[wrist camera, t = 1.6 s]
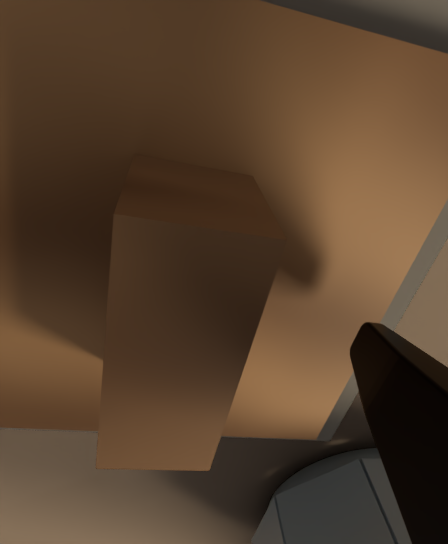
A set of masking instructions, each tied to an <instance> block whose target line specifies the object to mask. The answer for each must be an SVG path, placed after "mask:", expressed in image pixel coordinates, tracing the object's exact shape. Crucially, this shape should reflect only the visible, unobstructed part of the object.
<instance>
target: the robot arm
mask: <svg viewBox="0 0 448 544" xmlns="http://www.w3.org/2000/svg"><path fill="white" fill-rule="evenodd" d="M350 359H351V363H352V367H353V371H354V375H355V379H356V383H357V387H358V390H359V394H360V398H361V402H362V406H363V409H364V413H365V416H366V419H367V422H368V425H369V428H370V430H371V433H372V436H373V439H374V441H375V444H376V447H377V449H378V452H379V455H380V458H381V460H382V463H383V466H384V469H385V471H386V474H387V477H388V480H389V482H390V485H391V488H392V491H393V493H394V496H395V499H396V502H397V504H398V507H399V510H400V513H401V515H402V518H403V521H404V524H405V526H406V529H407V532H408V535H409V537H410V540H411V543H412V544H448V367H446V366H445V365H443V364H442V363H440V362H439V361H437V360H436V359H434V358H433V357H431V356H430V355H428V354H427V353H425V352H424V351H422V350H421V349H419V348H418V347H416V346H415V345H413V344H412V343H410V342H409V341H407V340H406V339H404V338H403V337H401V336H400V335H398V334H397V333H395V332H394V331H392V330H391V329H389V328H388V327H386V326H385V325H383V324H381V323H374V322H365V323H364V324H362V326H361V327H360V329H359V331H358V333H357V335H356V337H355V339H354V341H353V343H352V345H351V347H350Z"/></svg>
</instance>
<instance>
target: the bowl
mask: <svg viewBox="0 0 448 544" xmlns="http://www.w3.org/2000/svg"><path fill="white" fill-rule="evenodd" d="M251 542H252V544H412V543H411V540H410V537H409V535H408V532H407V529H406V526H405V524H404V521H403V518H402V515H401V513H400V510H399V507H398V504H397V502H396V499H395V496H394V493H393V491H392V488H391V485H390V482H389V480H388V477H387V474H386V471H385V469H384V466H383V463H382V460H381V458H380V455H379V452H378V449H377V448H369V449H360V450H354V451H349V452H345V453H341V454H337V455H334V456H331V457H328V458H325V459H323V460H320V461H318V462H315V463H313V464H311V465H309V466H307V467H305V468H303V469H302V470H300V471H298V472H297V473H295V474H294V475H292V476H291V477H290V478H288V479H287V480H286V481H285V482H284V483H283V484H282V485H280V487H279V488H278V489H277V490H276V491H275V493H274V494H273V496H272V498H271V500H270V503H269V507H268V509H267V511H266V513H265V515H264V516H263V518H262V520H261V522H260V524H259V526H258V528H257V530H256V532H255V534H254V536H253V538H252V540H251Z"/></svg>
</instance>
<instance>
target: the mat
mask: <svg viewBox="0 0 448 544" xmlns="http://www.w3.org/2000/svg"><path fill="white" fill-rule="evenodd" d="M260 1H264V2H267V3H271V4H274V5H278V6H281V7H285V8H288V9H292V10H295V11H299V12H302V13H306V14H309V15H313V16H316V17H320V18H324V19H327V20H331V21H334V22H338V23H341V24H345V25H348V26H352V27H355V28H359V29H362V30H366V31H369V32H373V33H376V34H380V35H383V36H387V37H390V38H394V39H397V40H401V41H404V42H408V43H412V44H415V45H419V46H422V47H426V48H429V49H433V50H436V51H440V52H443V53H447V54H448V0H260ZM447 238H448V199H447V201H446V203H445V205H444V207H443V209H442V210H441V212H440V214H439V216H438V218H437V220H436V221H435V223H434V225H433V227H432V229H431V230H430V232H429V234H428V236H427V238H426V240H425V241H424V243H423V245H422V247H421V249H420V251H419V252H418V254H417V256H416V258H415V260H414V262H413V263H412V265H411V267H410V269H409V271H408V272H407V274H406V276H405V278H404V280H403V282H402V283H401V285H400V287H399V289H398V291H397V293H396V294H395V296H394V298H393V300H392V302H391V304H390V305H389V307H388V309H387V311H386V313H385V315H384V316H383V318H382V320H381V322H380V323H381V324H383V325H385V326H386V327H388V328H389V329H391V330H392V331H394V330H395V328H396V326H397V324H398V323H399V321H400V319H401V318H402V316H403V314H404V312H405V311H406V309H407V307H408V305H409V304H410V302H411V300H412V299H413V297H414V295H415V293H416V292H417V290H418V288H419V287H420V285H421V283H422V281H423V280H424V278H425V276H426V274H427V273H428V271H429V269H430V268H431V266H432V264H433V262H434V261H435V259H436V257H437V255H438V254H439V252H440V250H441V249H442V247H443V245H444V243H445V242H446V240H447ZM358 392H359V390H358V387H357V383H356V379H355V375H354V371H353V373H352V375H351V377H350V378H349V380H348V382H347V384H346V386H345V388H344V389H343V391H342V393H341V395H340V397H339V399H338V400H337V402H336V404H335V406H334V408H333V409H332V411H331V413H330V415H329V417H328V419H327V420H326V422H325V424H324V426H323V428H322V430H321V431H320V433H319V435H318V437H317V439H316V440H312V439H285V438H259V437H233V436H221V437H229V438H256V439H283V440H310V441H330V440H331V438H332V437H333V435H334V433H335V431H336V430H337V428H338V426H339V425H340V423H341V421H342V419H343V418H344V416H345V414H346V412H347V411H348V409H349V407H350V406H351V404H352V402H353V400H354V399H355V397H356V395H357V393H358ZM0 429H16V430H43V431H69V432H96V433H98V431H75V430H49V429H23V428H0Z"/></svg>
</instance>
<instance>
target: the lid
mask: <svg viewBox="0 0 448 544" xmlns="http://www.w3.org/2000/svg"><path fill="white" fill-rule="evenodd" d="M447 199H448V54H447V53H443V52H440V51H436V50H433V49H429V48H426V47H422V46H419V45H415V44H412V43H408V42H404V41H401V40H397V39H394V38H390V37H387V36H383V35H380V34H376V33H373V32H369V31H366V30H362V29H359V28H355V27H352V26H348V25H345V24H341V23H338V22H334V21H331V20H327V19H324V18H320V17H316V16H313V15H309V14H306V13H302V12H299V11H295V10H292V9H288V8H285V7H281V6H278V5H274V4H271V3H267V2H264V1H260V0H0V428H23V429H49V430H75V431H98V443H97V457H96V469H136V470H190V471H209V470H210V467H211V464H212V461H213V458H214V456H215V453H216V450H217V447H218V444H219V441H220V438H221V436H233V437H259V438H285V439H312V440H316V439H317V437H318V435H319V433H320V431H321V430H322V428H323V426H324V424H325V422H326V420H327V419H328V417H329V415H330V413H331V411H332V409H333V408H334V406H335V404H336V402H337V400H338V399H339V397H340V395H341V393H342V391H343V389H344V388H345V386H346V384H347V382H348V380H349V378H350V377H351V375H352V373H353V367H352V363H351V359H350V347H351V345H352V343H353V341H354V339H355V337H356V335H357V333H358V331H359V329H360V327H361V326H362V324H364V323H365V322H374V323H380V322H381V320H382V318H383V316H384V315H385V313H386V311H387V309H388V307H389V305H390V304H391V302H392V300H393V298H394V296H395V294H396V293H397V291H398V289H399V287H400V285H401V283H402V282H403V280H404V278H405V276H406V274H407V272H408V271H409V269H410V267H411V265H412V263H413V262H414V260H415V258H416V256H417V254H418V252H419V251H420V249H421V247H422V245H423V243H424V241H425V240H426V238H427V236H428V234H429V232H430V230H431V229H432V227H433V225H434V223H435V221H436V220H437V218H438V216H439V214H440V212H441V210H442V209H443V207H444V205H445V203H446V201H447Z"/></svg>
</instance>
